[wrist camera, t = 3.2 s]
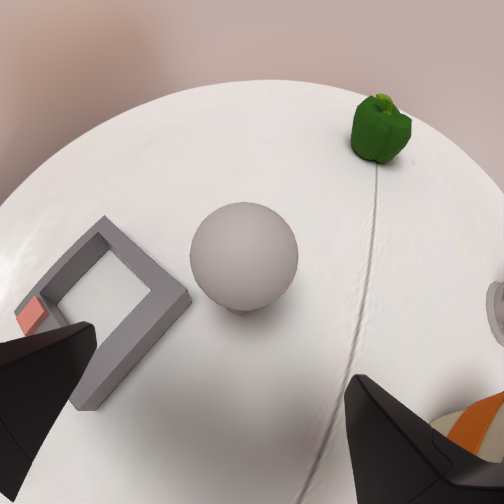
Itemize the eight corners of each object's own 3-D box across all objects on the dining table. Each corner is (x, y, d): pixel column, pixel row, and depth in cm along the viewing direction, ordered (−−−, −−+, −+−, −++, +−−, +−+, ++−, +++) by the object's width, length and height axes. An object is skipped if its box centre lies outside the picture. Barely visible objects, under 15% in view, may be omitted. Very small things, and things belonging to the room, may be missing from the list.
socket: (192, 302, 22) (185, 284, 19) (95, 410, 16) (72, 410, 13) (114, 233, 25) (101, 209, 21) (31, 321, 19) (8, 308, 16)
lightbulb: (263, 263, 24) (285, 172, 15) (284, 327, 22) (330, 267, 12) (195, 277, 23) (176, 189, 14) (211, 345, 20) (195, 299, 11)
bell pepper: (386, 142, 37) (409, 93, 28) (399, 176, 33) (431, 122, 24) (338, 129, 37) (357, 74, 28) (346, 162, 33) (372, 100, 24)
